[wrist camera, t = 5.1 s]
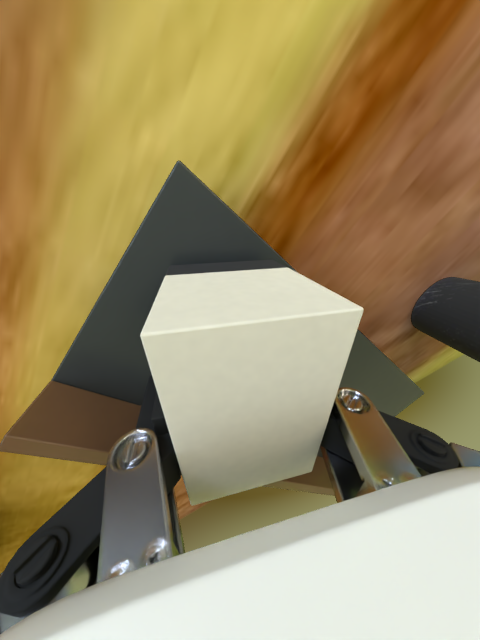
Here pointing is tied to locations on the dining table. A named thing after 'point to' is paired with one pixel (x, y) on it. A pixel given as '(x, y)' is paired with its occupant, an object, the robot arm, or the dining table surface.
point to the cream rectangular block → (246, 370)
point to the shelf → (127, 349)
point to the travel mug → (451, 314)
